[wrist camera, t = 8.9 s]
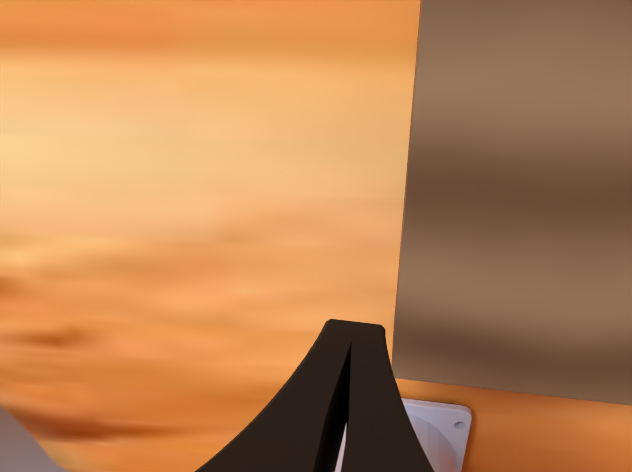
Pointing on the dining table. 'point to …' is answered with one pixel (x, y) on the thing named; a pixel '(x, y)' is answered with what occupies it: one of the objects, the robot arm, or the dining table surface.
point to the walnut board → (519, 200)
